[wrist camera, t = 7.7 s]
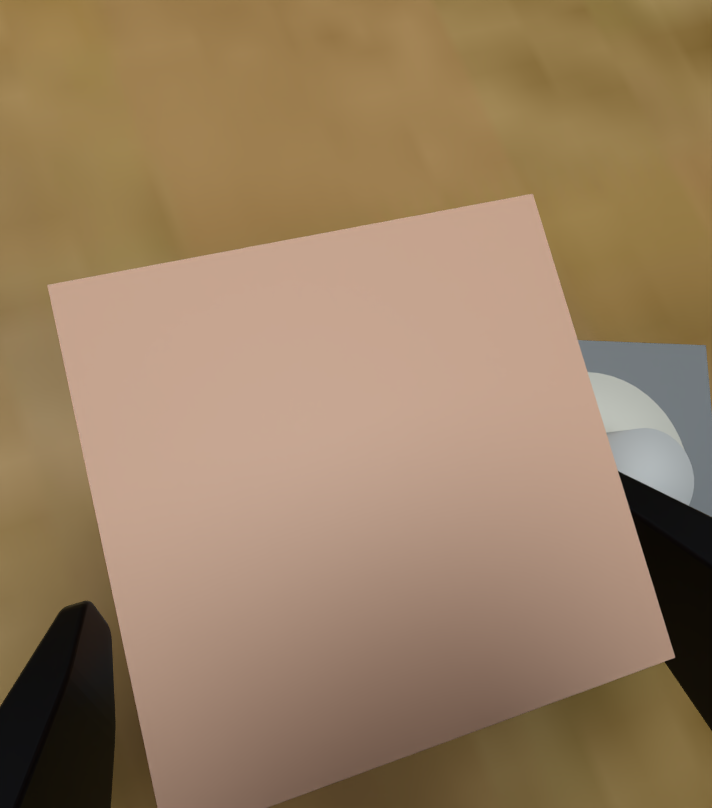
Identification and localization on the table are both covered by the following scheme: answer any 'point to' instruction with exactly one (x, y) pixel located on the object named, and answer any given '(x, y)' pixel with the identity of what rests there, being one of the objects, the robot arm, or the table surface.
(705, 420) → the plate
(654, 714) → the table surface
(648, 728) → the table surface
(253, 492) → the pink block
